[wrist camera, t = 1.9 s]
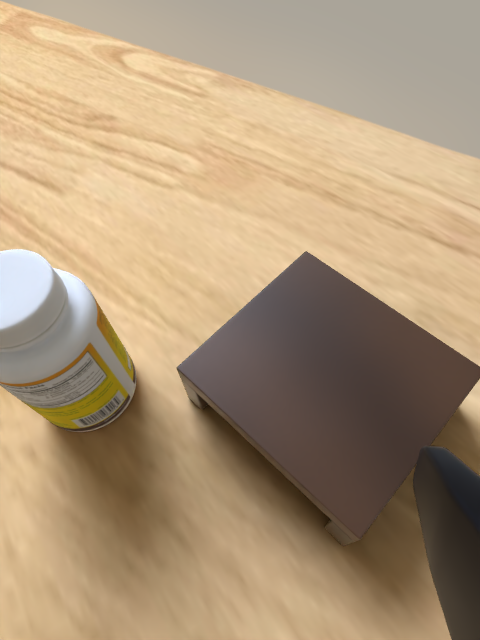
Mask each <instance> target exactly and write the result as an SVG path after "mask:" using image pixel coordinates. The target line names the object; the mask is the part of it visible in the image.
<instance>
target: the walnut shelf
mask: <svg viewBox="0 0 480 640" xmlns="http://www.w3.org/2000/svg"><path fill="white" fill-rule="evenodd" d="M177 370H178V373H179V375H180V378H181V380H182V382H183V385H184V387H185V390H186V392H187V395H188V397H189V398H190V399H191V400H192V401H193V402H194V403H195V404H196V405H197V406H198V407H199V408H200V409H204V408H205V407H206V406H207V405H208V404H209V405H210V406H211V407H212V408H213V409H214V410H215V411H216V412H217V413H218V414H219V415H221V416H222V417H223V418H224V419H225V420H226V421H227V422H228V423H229V424H230V425H231V426H232V427H233V428H234V429H235V430H236V431H237V432H239V433H240V434H241V435H242V436H243V437H244V438H245V439H246V440H247V441H248V442H249V443H250V444H251V445H252V446H253V447H254V448H255V449H257V450H258V451H259V452H260V453H261V454H262V455H263V456H264V457H265V458H266V459H267V460H268V461H269V462H270V463H271V464H272V465H273V466H275V467H276V468H277V469H278V470H279V471H280V472H281V473H282V474H283V475H284V476H285V477H286V478H287V479H288V480H289V481H290V482H291V483H293V484H294V485H295V486H296V487H297V488H298V489H299V490H300V491H301V492H302V493H303V494H304V495H305V496H306V497H307V498H308V499H310V500H311V501H312V502H313V503H314V504H315V505H316V506H317V507H318V508H319V509H320V510H321V511H322V512H323V513H324V514H325V515H326V516H328V517H329V518H330V521H329V522H328V523H327V524H326V526H325V529H326V530H327V531H328V532H329V533H330V534H331V535H332V536H333V537H334V538H335V539H336V540H337V541H338V542H340V543H341V544H342V545H343V546H346V545H348V544H350V543H352V542H355V541H358V540H360V539H361V538H362V537H363V535H364V534H365V533H366V531H367V530H368V529H369V527H370V526H371V525H372V523H373V522H374V521H375V519H376V518H377V517H378V515H379V514H380V512H381V511H382V510H383V508H384V507H385V506H386V504H387V503H388V502H389V500H390V499H391V498H392V496H393V495H394V494H395V492H396V491H397V490H398V488H399V487H400V485H401V484H402V483H403V481H404V480H405V479H406V477H407V476H408V475H409V473H410V472H411V471H412V469H413V468H414V467H415V465H416V464H417V461H418V457H419V453H420V450H421V448H422V447H424V446H430V445H431V444H432V442H433V441H434V440H435V438H436V437H437V436H438V434H439V433H440V431H441V430H442V429H443V427H444V426H445V425H446V423H447V422H448V421H449V419H450V418H451V417H452V415H453V414H454V413H455V411H456V410H457V409H458V407H459V406H460V404H461V403H462V402H463V400H464V399H465V398H466V396H467V395H468V394H469V392H470V391H471V390H472V388H473V387H474V386H475V384H476V383H477V382H478V380H479V379H480V367H479V366H478V365H476V364H475V363H473V362H472V361H470V360H469V359H467V358H466V357H464V356H463V355H461V354H460V353H458V352H457V351H455V350H454V349H452V348H451V347H449V346H448V345H446V344H445V343H443V342H442V341H440V340H439V339H437V338H436V337H434V336H433V335H431V334H430V333H428V332H427V331H425V330H424V329H422V328H421V327H419V326H418V325H416V324H415V323H413V322H412V321H410V320H409V319H407V318H406V317H404V316H403V315H401V314H400V313H398V312H397V311H395V310H394V309H392V308H391V307H389V306H388V305H386V304H385V303H383V302H382V301H380V300H379V299H377V298H376V297H374V296H373V295H371V294H370V293H368V292H367V291H365V290H364V289H362V288H361V287H359V286H358V285H356V284H355V283H353V282H352V281H350V280H349V279H347V278H346V277H344V276H343V275H341V274H340V273H338V272H337V271H335V270H334V269H332V268H331V267H329V266H328V265H326V264H325V263H323V262H322V261H320V260H319V259H317V258H316V257H314V256H313V255H311V254H310V253H308V252H307V251H305V252H304V253H303V254H302V255H301V256H300V257H299V258H298V259H297V260H295V261H294V262H293V263H292V264H291V265H290V266H289V267H288V268H287V269H285V270H284V271H283V272H282V273H281V274H280V275H279V276H278V277H277V278H275V279H274V280H273V281H272V282H271V283H270V284H269V285H268V286H267V287H265V288H264V289H263V290H262V291H261V292H260V293H259V294H258V295H257V296H256V297H254V298H253V299H252V300H251V301H250V302H249V303H248V304H247V305H246V306H244V307H243V308H242V309H241V310H240V311H239V312H238V313H237V314H236V315H234V316H233V317H232V318H231V319H230V320H229V321H228V322H227V323H226V324H224V325H223V326H222V327H221V328H220V329H219V330H218V331H217V332H216V333H214V334H213V335H212V336H211V337H210V338H209V339H208V340H207V341H206V342H204V343H203V344H202V345H201V346H200V347H199V348H198V349H197V350H196V351H194V352H193V353H192V354H191V355H190V356H189V357H188V358H187V359H186V360H185V361H183V362H182V363H181V364H180V365H179V366H178V367H177Z"/></svg>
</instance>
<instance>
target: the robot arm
mask: <svg viewBox="0 0 480 640" xmlns="http://www.w3.org/2000/svg"><path fill="white" fill-rule="evenodd" d="M413 487H414V493H415V498H416V503H417V508H418V513H419V518H420V523H421V528H422V533H423V538H424V543H425V548H426V553H427V558H428V563H429V567H430V571H431V574H432V578H433V581H434V585H435V588H436V591H437V594H438V597H439V601H440V604H441V607H442V610H443V613H444V616H445V620H446V623H447V626H448V629H449V632H450V636H451V639H452V640H480V476H479V475H477V474H476V473H475V472H474V471H473V470H471V469H470V468H469V467H468V466H467V465H466V464H464V463H463V462H462V461H461V460H460V459H459V458H457V457H456V456H455V455H454V454H453V453H452V452H450V451H449V450H448V449H446V448H445V447H440V446H424V447H422V448H421V450H420V453H419V457H418V461H417V465H416V469H415V473H414V477H413Z"/></svg>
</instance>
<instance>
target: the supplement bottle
mask: <svg viewBox="0 0 480 640" xmlns="http://www.w3.org/2000/svg"><path fill="white" fill-rule="evenodd" d="M0 386H2V387H3V388H5V389H6V390H7V391H9V392H10V393H11V394H13V395H14V396H16V397H17V398H18V399H20V400H21V401H22V402H24V403H25V404H26V405H28V406H29V407H31V408H32V409H33V410H35V411H36V412H38V413H39V414H40V415H42V416H43V417H44V418H46V419H47V420H48V421H50V422H51V423H52V424H54V425H56V426H57V427H60V428H62V429H64V430H67V431H73V432H87V431H92V430H96V429H99V428H101V427H104V426H106V425H108V424H109V423H111V422H112V421H114V420H115V419H116V418H117V417H119V416H120V415H121V414H122V412H123V411H124V410H125V409H126V408H127V406H128V405H129V403H130V401H131V399H132V397H133V395H134V391H135V387H136V370H135V367H134V364H133V361H132V359H131V358H130V356H129V354H128V352H127V351H126V349H125V347H124V346H123V344H122V343H121V341H120V339H119V338H118V336H117V334H116V333H115V331H114V329H113V328H112V326H111V324H110V323H109V321H108V320H107V318H106V316H105V315H104V313H103V311H102V310H101V308H100V306H99V305H98V303H97V301H96V300H95V298H94V296H93V295H92V293H91V291H90V290H89V289H88V287H87V286H86V285H85V284H84V283H83V282H82V281H81V280H80V279H79V278H77V277H76V276H74V275H72V274H70V273H68V272H66V271H63V270H59V269H54V268H52V266H51V265H50V264H49V262H48V261H47V260H46V259H45V258H43V257H42V256H40V255H39V254H37V253H34V252H32V251H27V250H19V249H17V250H5V251H1V252H0Z"/></svg>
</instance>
